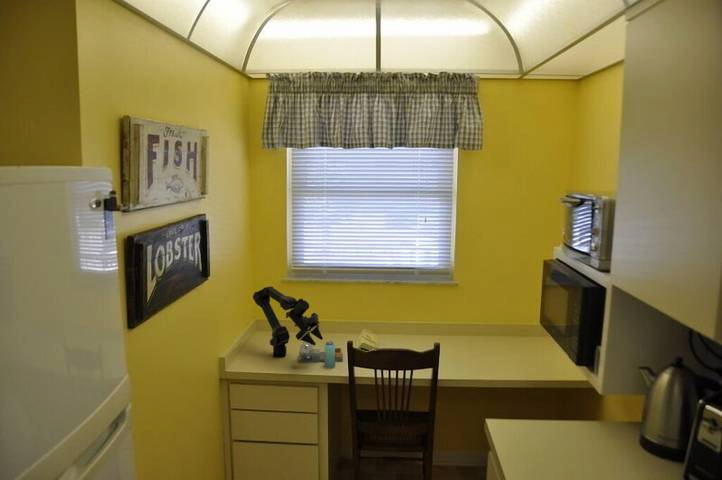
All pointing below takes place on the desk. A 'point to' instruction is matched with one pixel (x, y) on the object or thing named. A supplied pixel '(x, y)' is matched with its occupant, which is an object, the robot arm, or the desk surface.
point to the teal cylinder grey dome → (329, 354)
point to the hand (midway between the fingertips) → (318, 342)
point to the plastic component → (367, 340)
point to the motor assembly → (316, 354)
